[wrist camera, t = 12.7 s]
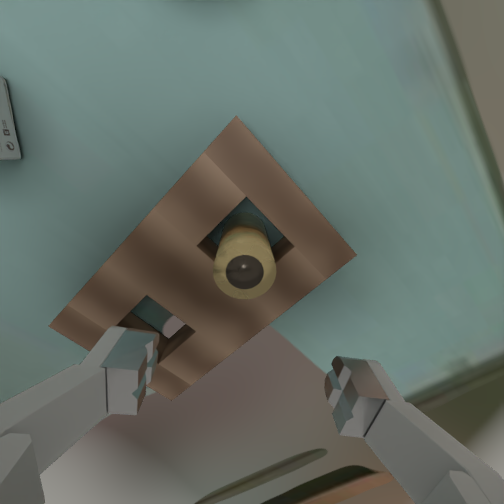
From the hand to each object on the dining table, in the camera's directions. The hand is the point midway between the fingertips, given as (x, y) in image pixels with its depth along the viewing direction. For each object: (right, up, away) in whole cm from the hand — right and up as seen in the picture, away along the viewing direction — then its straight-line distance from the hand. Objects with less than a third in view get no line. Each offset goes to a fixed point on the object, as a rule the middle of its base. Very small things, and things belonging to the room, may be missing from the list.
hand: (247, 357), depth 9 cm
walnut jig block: (-5, +2, +15) cm, 16 cm away
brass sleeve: (-1, +5, +14) cm, 15 cm away
